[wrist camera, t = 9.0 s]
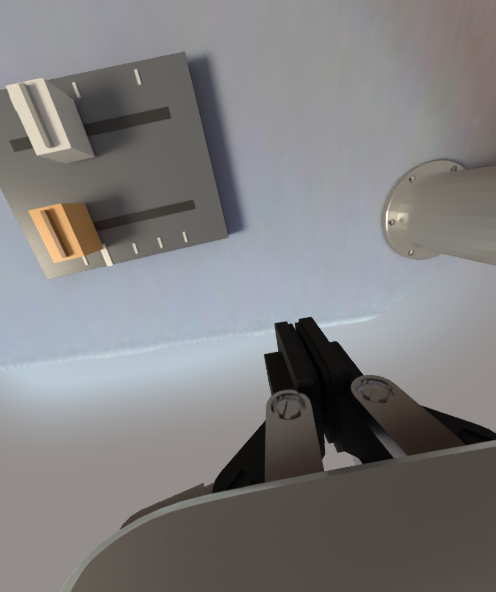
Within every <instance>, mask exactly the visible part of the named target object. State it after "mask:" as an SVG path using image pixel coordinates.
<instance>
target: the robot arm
mask: <svg viewBox="0 0 496 592" xmlns="http://www.w3.org/2000/svg"><path fill="white" fill-rule="evenodd" d="M382 227H383V233H384V236H385V239H386V241H387V243H388V244H389V246H390V247H391V248H392V249H393V250H394V251H395V252H396V253H398V254H399V255H401V256H403V257H407V258H410V259H416V260H421V259H429V258H433V257H435V256H437V255H440V254H445V255H450V256H455V257H459V258H464V259H468V260H473V261H478V262H482V263H487V264H491V265H495V266H496V166H489V167H482V168H475V169H467V170H466V169H465V168H464V167H462V166H461V165H460V164H458V163H455V162H453V161H448V160H437V161H431V162H427V163H423V164H421V165H419V166H417V167H415V168H413V169H412V170H410V171H409V172H407V173H406V174H405V175H404V176H403V177H402V178H401V179H400V180H399V181H398V182H397V183H396V185H395V186H394V187H393V189H392V191H391V192H390V194H389V196H388V198H387V201H386V204H385V206H384V211H383V216H382ZM275 331H276V338H277V345H278V352H274V353H268V354H264V357H265V363H266V369H267V375H268V381H269V386H270V390H271V395H272V396H271V397H270V398H269V400H268V402H267V405H266V420H265V422H264V423H263V424H262V425H261V426H260V427H259V429H258V430H257V431H256V432H255V433H254V434H253V436H252V437H251V438H250V439H249V440H248V441H247V442H246V443H245V445H244V446H243V447H242V448H241V449H240V450H239V452H238V453H237V454H236V455H235V456H234V457H233V459H232V460H231V461H230V462H229V463H228V464H227V466H226V467H225V468H224V469H223V470H222V471H221V473H220V474H219V475H218V477H217V478H216V480H215V482H214V483H212V484H210V485H208V486H206V487H205V486H204V483H202V484H200V485H197V486H195V487H193V488H191V489H188V490H186V491H184V492H182V493H179V494H177V495H174V496H172V497H170V498H167V499H165V500H163V501H161V502H158V503H156V504H154V505H151V506H149V507H147V508H144V509H142V510H140V511H138V512H137V513H135V514H134V515H132V516H131V517H130V518H129V519H128V520H127V521H126V522H125V523H124V524H123V525H122V527H121V528H120V530H119V531H118V532H116V533H114V534H113V535H111V536H110V537H109V538H107V539H106V540H105V541H103V542H102V543H101V544H100V545H98V546H97V547H96V548H95V549H94V550H92V551H91V552H90V553H89V554H88V555H87V556H86V557H85V558H84V559H83V560H82V561H81V562H80V563H79V564H78V565H77V567H76V568H75V569H74V570H73V572H72V573H71V574H70V576H69V577H68V578H67V580H66V581H65V583H64V584H63V586H62V587H61V589H60V590H59V592H496V433H494V432H492V431H491V430H489V429H487V428H484V427H482V426H480V425H477V424H474V423H471V422H468V421H466V420H463V419H460V418H457V417H454V416H451V415H448V414H444V413H442V412H439V411H436V410H433V409H430V408H427V407H424V406H421V405H419V404H418V403H417V402H416V401H414V400H413V399H412V398H411V397H410V396H409V395H407V394H406V393H405V392H404V391H403V390H401V389H400V388H399V387H398V386H397V385H396V384H394V383H393V382H391V381H390V380H388V379H386V378H383V377H380V376H375V375H365V376H364V375H363V374H362V373H361V371H360V370H359V369H358V368H357V366H356V365H355V364H354V362H353V361H352V360H351V358H350V357H349V356H348V355H347V353H346V352H345V351H344V350H343V348H342V347H341V346H340V344H339V343H338V342H336V341H334V342H329V341H328V339H327V338H326V336H325V335H324V334H323V332H322V331H321V329H320V328H319V327H318V325H317V324H316V322H315V321H314V320H313V318H312V317H307V318H302V319H299V322H297V323H295V328H294V327H293V325H292V324H288V323H287V321H285V322H280V323H275ZM324 434H325V436H326V439H327V441H328V443H334V446H335V448H336V450H337V452H343V451H345V452H347V453H349V454H351V455H353V459H354V462H355V464H356V466H351V467H345V468H340V469H335V470H329V471H324V467H323V462H322V459H323V457H324V455H325V445H324V444H325V441H324Z"/></svg>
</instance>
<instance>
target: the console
mask: <svg viewBox="0 0 496 592" xmlns="http://www.w3.org/2000/svg"><path fill="white" fill-rule="evenodd" d="M47 81H48V82H49V83H51V84H52V85H54V86H55V87H56V88H58V89H59V90H61V91H62V92H63V93H65V94H66V95H67V96H69V97H70V98H72V99H73V100H74V103H75V106H76V108H77V111H78V114H79V116H80V119H81V121H82V124H83V127H84V129H85V132H86V135H87V137H88V140H89V142H90V145H91V148H92V150H93V153H94V156H95V157H93V158H89V159H84V160H80V161H75V162H70V163H63V162H59V161H55V160H52V159H48V158H44V157H41V156H37V155H36V152H35V150H34V148H33V146H32V144H31V141H30V139H29V137H28V135H27V133H26V130H25V128H24V126H23V124H22V121H21V119H20V117H19V115H18V113H17V110H16V108H15V106H14V104H13V101H12V99H11V97H10V95H9V93H8V90H7V89H3V90H0V188H1V190H2V192H3V194H4V196H5V198H6V200H7V201H8V203H9V205H10V207H11V209H12V211H13V213H14V215H15V217H16V219H17V221H18V223H19V225H20V227H21V228H22V230H23V232H24V234H25V236H26V238H27V240H28V242H29V244H30V246H31V248H32V250H33V252H34V254H35V256H36V257H37V259H38V261H39V263H40V265H41V267H42V269H43V271H44V273H45V275H46V277H47V279H52V278H56V277H60V276H64V275H69V274H73V273H77V272H82V271H86V270H90V269H95V268H99V267H103V266H107V267H108V266H112V265H113V264H116V263H121V262H125V261H129V260H134V259H138V258H142V257H147V256H151V255H155V254H159V253H164V252H168V251H172V250H177V249H181V248H185V247H190V246H194V245H198V244H203V243H207V242H211V241H216V240H220V239H224V238H229V237H228V233H227V229H226V224H225V220H224V216H223V212H222V207H221V203H220V199H219V195H218V190H217V186H216V182H215V178H214V174H213V169H212V165H211V161H210V157H209V152H208V148H207V144H206V140H205V135H204V131H203V127H202V123H201V118H200V114H199V110H198V106H197V101H196V97H195V93H194V89H193V85H192V80H191V76H190V72H189V68H188V63H187V59H186V55H185V52H180V53H176V54H171V55H166V56H161V57H156V58H152V59H147V60H142V61H137V62H132V63H128V64H123V65H118V66H113V67H108V68H104V69H99V70H94V71H89V72H84V73H80V74H75V75H70V76H65V77H60V78H56V79H51V80H47ZM60 203H81V204H85V205H86V207H87V210H88V212H89V215H90V217H91V219H92V222H93V224H94V227H95V229H96V231H97V234H98V236H99V239H100V241H101V243H102V246H103V248H104V249H102V250H99V251H96V252H94V253H91V254H89V255H86V256H83V257H78V258H74V259H69V260H65V261H61V262H56V263H54V262H53V260H52V258H51V256H50V254H49V252H48V250H47V248H46V246H45V244H44V242H43V240H42V237H41V235H40V233H39V231H38V229H37V227H36V225H35V223H34V221H33V219H32V217H31V215H30V213H29V210H33V209H38V208H42V207H47V206H51V205H55V204H60Z"/></svg>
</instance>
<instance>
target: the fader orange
mask: <svg viewBox="0 0 496 592" xmlns="http://www.w3.org/2000/svg"><path fill="white" fill-rule="evenodd" d="M29 213H30V215H31V217H32V219H33V221H34V223H35V225H36V227H37V229H38V231H39V233H40V235H41V237H42V240H43V242H44V244H45V246H46V248H47V250H48V252H49V254H50V256H51V258H52V260H53V262H54V263H56V262H61V261H65V260H69V259H74V258H78V257H83V256H86V255H89V254H91V253H94V252H96V251H99V250H102V249H104V248H103V246H102V243H101V241H100V239H99V236H98V234H97V231H96V229H95V227H94V224H93V222H92V219H91V217H90V215H89V212H88V210H87V207H86V205H85V204H81V203H60V204H55V205H51V206H47V207H42V208H38V209H33V210H29Z"/></svg>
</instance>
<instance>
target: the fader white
mask: <svg viewBox="0 0 496 592" xmlns="http://www.w3.org/2000/svg"><path fill="white" fill-rule="evenodd" d="M6 88H7V90H8V93H9V95H10V97H11V99H12V101H13V104H14V106H15V108H16V110H17V113H18V115H19V117H20V119H21V121H22V124H23V126H24V128H25V130H26V133H27V135H28V137H29V139H30V141H31V144H32V146H33V148H34V150H35V152H36V155H37V156H41V157H44V158H48V159H52V160H55V161H59V162H63V163H70V162H75V161H80V160H84V159H89V158H93V157H95V156H94V153H93V150H92V148H91V145H90V142H89V140H88V137H87V135H86V132H85V129H84V127H83V124H82V121H81V119H80V116H79V114H78V111H77V108H76V106H75V103H74V100H73V99H72V98H70V97H69V96H67V95H66V94H65V93H63V92H62V91H61V90H59V89H58V88H56V87H55V86H54V85H52V84H51V83H49V82H48V81H47V80H45V79H44V78H40V79H35V80H30V81H25V82H21V83H16V84H11V85H6Z"/></svg>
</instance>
